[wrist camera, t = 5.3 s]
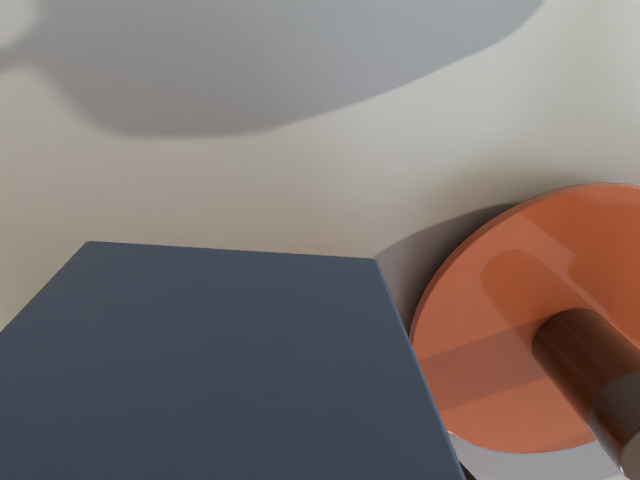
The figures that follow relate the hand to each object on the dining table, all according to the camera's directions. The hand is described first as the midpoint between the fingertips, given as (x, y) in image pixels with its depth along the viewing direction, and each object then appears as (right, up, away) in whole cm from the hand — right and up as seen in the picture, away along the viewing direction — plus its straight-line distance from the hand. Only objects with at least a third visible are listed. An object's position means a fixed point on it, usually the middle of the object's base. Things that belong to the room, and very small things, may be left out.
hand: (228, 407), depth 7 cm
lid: (+12, -1, +12) cm, 17 cm away
